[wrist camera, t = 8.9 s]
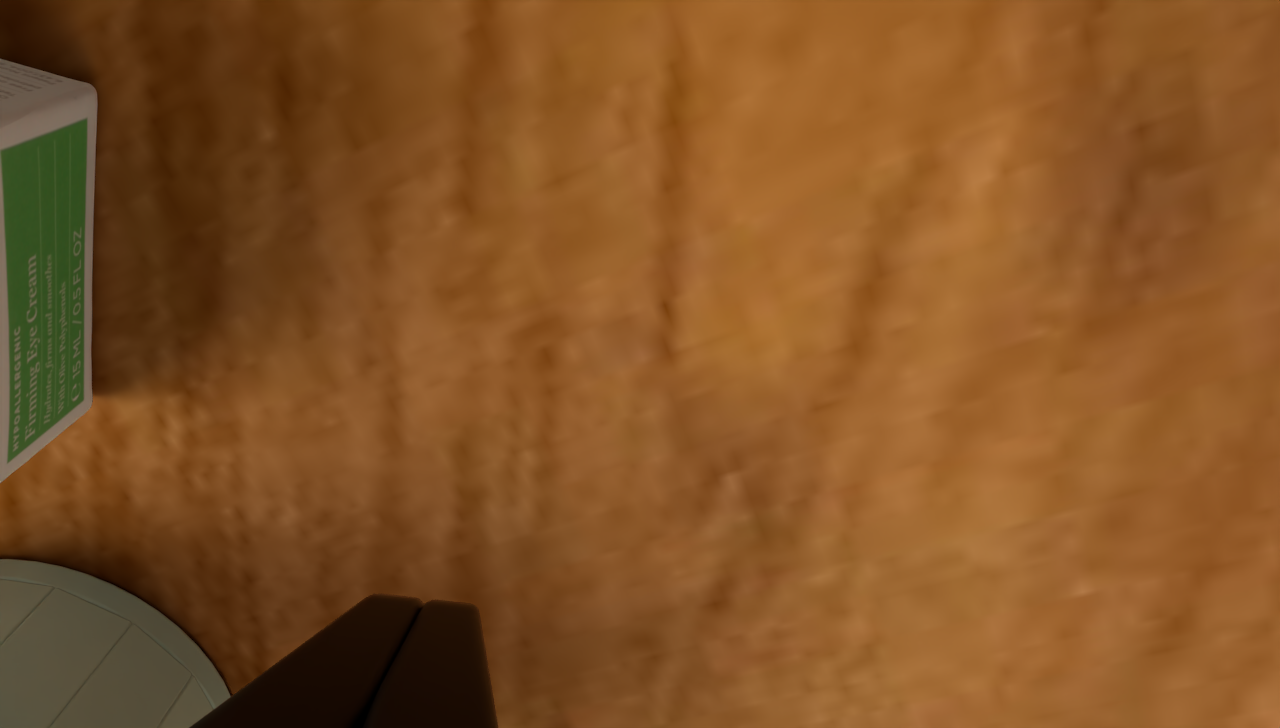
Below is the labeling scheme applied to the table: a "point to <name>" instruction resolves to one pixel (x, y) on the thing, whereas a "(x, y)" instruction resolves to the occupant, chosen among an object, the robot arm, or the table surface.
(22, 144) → the small box
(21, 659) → the cup
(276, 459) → the table surface
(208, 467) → the table surface
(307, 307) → the table surface
